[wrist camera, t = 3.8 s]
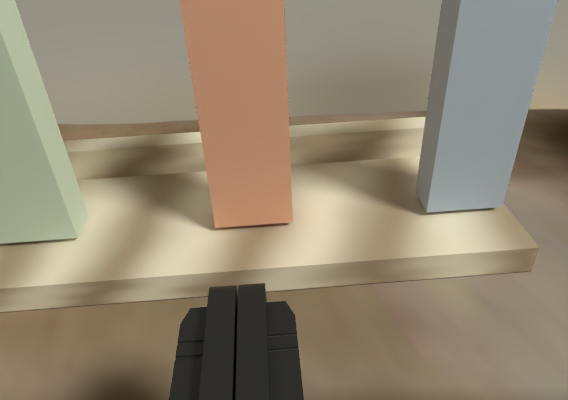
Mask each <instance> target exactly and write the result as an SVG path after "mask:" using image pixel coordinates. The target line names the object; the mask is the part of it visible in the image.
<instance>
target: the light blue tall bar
mask: <svg viewBox="0 0 568 400" xmlns="http://www.w3.org/2000/svg"><path fill="white" fill-rule="evenodd" d="M557 2H558V0H442V4H441V12H440V19H439V26H438V33H437V40H436V47H435V55H434V61H433V68H432V75H431V82H430V90H429V97H428V104H427V111H426V118H425V125H424V132H423V140H422V147H421V154H420V161H419V168H418V175H417V182H416V190H415V192H416V194H417V196H418V198H419V199H420V201H421V203H422V205H423V207H424V209H425V211H426V212H441V211H454V210H468V209H482V208H495V207H502V205H503V201H504V198H505V194H506V190H507V187H508V183H509V179H510V175H511V172H512V168H513V164H514V161H515V157H516V153H517V150H518V146H519V142H520V139H521V135H522V131H523V128H524V124H525V120H526V117H527V113H528V109H529V105H530V102H531V98H532V94H533V91H534V87H535V83H536V79H537V76H538V72H539V69H540V65H541V61H542V57H543V54H544V50H545V46H546V43H547V39H548V35H549V32H550V27H551V24H552V21H553V16H554V13H555V9H556V6H557Z"/></svg>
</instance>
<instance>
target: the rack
mask: <svg viewBox="0 0 568 400" xmlns="http://www.w3.org/2000/svg"><path fill="white" fill-rule="evenodd" d="M425 118H426V117H416V118H401V119H386V120H371V121H356V122H341V123H326V124H311V125H296V126H289V137H290V163H291V189H292V215H293V222H290V223H276V224H263V225H249V226H235V227H222V228H215V223H214V217H213V210H212V204H211V198H210V191H209V185H208V179H207V172H206V166H205V160H204V153H203V147H202V140H201V134H200V132H192V133H177V134H162V135H147V136H132V137H117V138H102V139H87V140H72V141H63V142H64V145H65V148H66V151H67V154H68V157H69V160H70V163H71V166H72V168H73V171H74V174H75V177H76V180H77V183H78V186H79V189H80V192H81V195H82V198H83V200H84V203H85V206H86V209H87V212H88V217H87V219H86V221H85V223H84V225H83V228H82V230H81V232H80V234H79V236H78V238H71V239H58V240H44V241H30V242H16V243H3V244H0V312H9V311H22V310H34V309H47V308H60V307H73V306H86V305H99V304H112V303H125V302H138V301H151V300H163V299H176V298H189V297H202V296H208V293H209V288H210V287H217V286H231V285H237V289H238V285H243V284H257V283H265V288H266V292H267V291H280V290H292V289H305V288H318V287H331V286H344V285H357V284H370V283H383V282H396V281H409V280H421V279H434V278H447V277H460V276H473V275H486V274H499V273H512V272H525V271H531V269H532V267H533V264H534V261H535V258H536V255H537V252H538V249H539V247H538V246H537V245H536V243H535V242H534V241H533V240H532V238H531V237H530V236H529V234H528V233H527V232H526V231H525V229H524V228H523V227H522V226H521V224H520V223H519V222H518V220H517V219H516V218H515V217H514V215H513V214H512V213H511V212H510V210H509V209H508V208H507V207H506V205H505V204H504V203H503V205H502V207H495V208H482V209H468V210H454V211H441V212H426V211H425V209H424V207H423V205H422V203H421V201H420V199H419V198H418V196H417V194H416V192H415V190H416V182H417V175H418V168H419V161H420V154H421V147H422V140H423V132H424V125H425Z"/></svg>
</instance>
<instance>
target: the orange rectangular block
mask: <svg viewBox="0 0 568 400" xmlns="http://www.w3.org/2000/svg"><path fill="white" fill-rule="evenodd" d="M180 7H181V13H182V19H183V26H184V32H185V38H186V45H187V51H188V58H189V64H190V70H191V77H192V82H193V89H194V95H195V102H196V109H197V114H198V121H199V128H200V134H201V140H202V147H203V153H204V160H205V166H206V172H207V179H208V185H209V191H210V198H211V204H212V210H213V217H214V223H215V228H222V227H235V226H249V225H263V224H276V223H290V222H293V215H292V189H291V163H290V137H289V113H288V87H287V61H286V34H285V8H284V0H180Z"/></svg>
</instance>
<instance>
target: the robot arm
mask: <svg viewBox="0 0 568 400" xmlns="http://www.w3.org/2000/svg"><path fill="white" fill-rule="evenodd" d="M169 400H304V397H303V388H302V378H301V369H300V359H299V350H298V340H297V331H296V321H295V315H294V313H293V312H292V310H291V309H290V307H289V306H288V304H287V303H286V301H281V302H267V299H266V288H265V283H257V284H243V285H238V289H237V285H231V286H217V287H210V288H209V293H208V304H207V307H201V308H190V310H189V312H188V313H187V315H186V316H185V318H184V319H183V321H182V323H181V324H180V330H179V337H178V345H177V350H176V360H175V364H174V370H173V377H172V384H171V390H170V397H169Z"/></svg>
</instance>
